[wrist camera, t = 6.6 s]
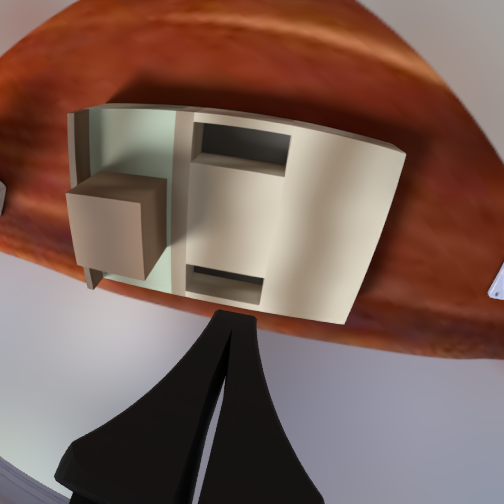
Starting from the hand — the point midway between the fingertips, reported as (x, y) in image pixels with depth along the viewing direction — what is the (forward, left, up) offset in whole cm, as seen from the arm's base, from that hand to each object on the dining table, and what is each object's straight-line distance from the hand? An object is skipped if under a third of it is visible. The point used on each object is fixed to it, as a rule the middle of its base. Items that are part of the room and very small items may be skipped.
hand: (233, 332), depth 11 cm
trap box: (+2, 0, -10) cm, 11 cm away
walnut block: (+8, 0, -8) cm, 11 cm away
